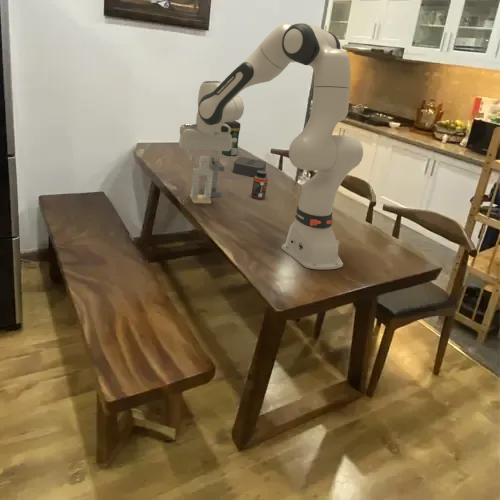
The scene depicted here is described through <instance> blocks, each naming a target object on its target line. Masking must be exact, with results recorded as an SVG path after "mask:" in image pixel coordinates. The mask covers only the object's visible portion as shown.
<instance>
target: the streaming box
mask: <svg viewBox="0 0 500 500" xmlns="http://www.w3.org/2000/svg"><path fill="white" fill-rule="evenodd" d="M266 166H267V162H266V161H265V160H260V159H256V158H249V157H245V156H244V157H243V156H241V157H240V156H239V157H237V159H235V161H234V162H233V169H232V172H233V173H234V174H237V175H243V176H247V177H253V178H254V176H256V175H257V171H265V172H266V169H267V167H266Z"/></svg>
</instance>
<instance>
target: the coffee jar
mask: <svg viewBox="0 0 500 500" xmlns="http://www.w3.org/2000/svg"><path fill="white" fill-rule="evenodd" d="M225 124H227V125H228V126H229V127H230V128H231V132H230V134H231V136H232V148H231V150H230V151H222V154H223V155H226V156H230V157H234V156H237V155H238V146H239V136H240V131H241V122H239V121H238V120H236V121H232V122H225Z"/></svg>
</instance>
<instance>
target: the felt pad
mask: <svg viewBox="0 0 500 500" xmlns="http://www.w3.org/2000/svg"><path fill="white" fill-rule="evenodd" d="M190 197H191V194H189V198H190ZM190 199H191V200H192V203H194V204H212V201H211V199H210V200H205V198H204V194H198V197H197V200H195V199H192V198H190Z"/></svg>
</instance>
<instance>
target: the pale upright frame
mask: <svg viewBox="0 0 500 500" xmlns="http://www.w3.org/2000/svg"><path fill="white" fill-rule="evenodd" d="M209 165H210V156H207V155H200V156H199V162H198V167H196V168H195V167H193V168H192V176H191V177H192V178H191V188H190V189H191V191H190V195H191V198H192V199H195V200H197V197H198V195H199V185H200V176H205V182H204V186H205V189H204V194H203V195H204V198H205V200H210V201H211V198H212V197H211V189H212V180H213V170H212V169H209ZM191 198H190V199H191ZM192 199H191V200H192Z"/></svg>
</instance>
